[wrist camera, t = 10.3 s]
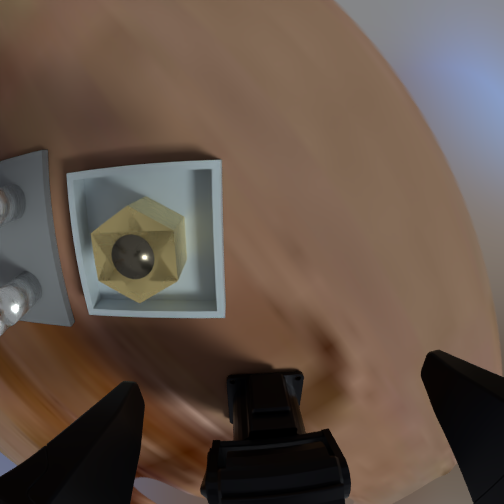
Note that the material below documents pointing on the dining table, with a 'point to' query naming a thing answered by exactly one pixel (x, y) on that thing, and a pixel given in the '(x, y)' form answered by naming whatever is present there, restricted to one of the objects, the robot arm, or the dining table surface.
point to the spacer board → (34, 239)
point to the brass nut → (140, 249)
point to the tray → (175, 198)
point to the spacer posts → (25, 284)
